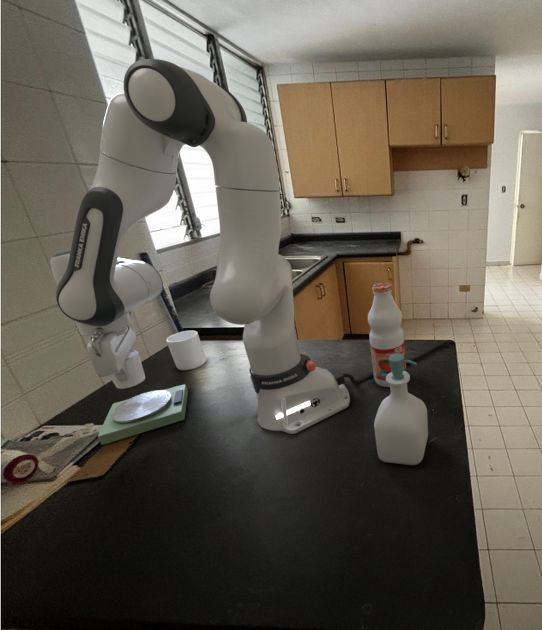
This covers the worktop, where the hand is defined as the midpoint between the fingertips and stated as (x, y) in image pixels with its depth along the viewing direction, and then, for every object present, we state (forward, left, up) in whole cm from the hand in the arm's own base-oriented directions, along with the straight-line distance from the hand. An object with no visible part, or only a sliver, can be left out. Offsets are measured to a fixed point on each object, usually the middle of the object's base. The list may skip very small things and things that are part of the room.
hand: (127, 373), depth 80 cm
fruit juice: (-60, +19, -13) cm, 64 cm away
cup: (-8, -26, -13) cm, 30 cm away
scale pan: (0, 0, -10) cm, 10 cm away
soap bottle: (-51, +45, -13) cm, 69 cm away
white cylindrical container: (0, 0, -3) cm, 3 cm away
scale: (-1, 0, -13) cm, 13 cm away
